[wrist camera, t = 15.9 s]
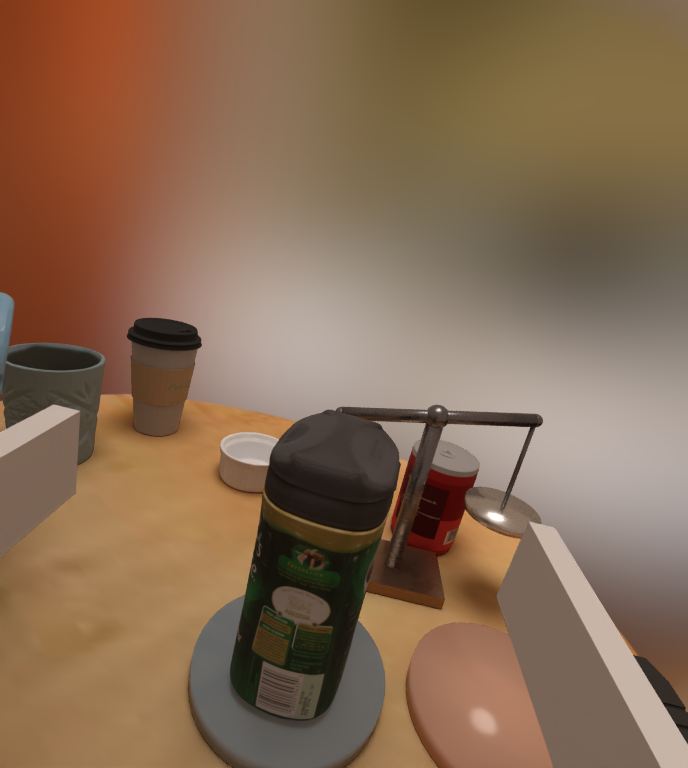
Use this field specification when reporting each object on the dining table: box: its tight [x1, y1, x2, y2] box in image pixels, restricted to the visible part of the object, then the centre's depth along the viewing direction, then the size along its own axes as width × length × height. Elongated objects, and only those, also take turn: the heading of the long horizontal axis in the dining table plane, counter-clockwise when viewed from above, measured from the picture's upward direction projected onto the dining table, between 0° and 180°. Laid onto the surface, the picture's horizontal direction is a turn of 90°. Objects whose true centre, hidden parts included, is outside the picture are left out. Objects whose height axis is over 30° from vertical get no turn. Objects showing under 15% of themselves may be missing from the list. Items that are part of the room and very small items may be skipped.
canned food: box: [392, 440, 480, 555], centre depth 53 cm, size 8×8×11 cm
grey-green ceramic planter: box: [2, 343, 105, 465], centre depth 52 cm, size 10×10×12 cm
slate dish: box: [188, 595, 385, 768], centre depth 33 cm, size 14×14×2 cm
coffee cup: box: [127, 318, 202, 436], centre depth 63 cm, size 9×9×15 cm
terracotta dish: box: [406, 623, 554, 768], centre depth 34 cm, size 14×14×2 cm
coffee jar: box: [230, 410, 401, 721], centre depth 30 cm, size 10×8×19 cm
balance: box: [336, 405, 543, 609], centre depth 44 cm, size 24×7×20 cm, turn 86°
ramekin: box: [220, 432, 279, 492], centre depth 58 cm, size 9×9×4 cm
